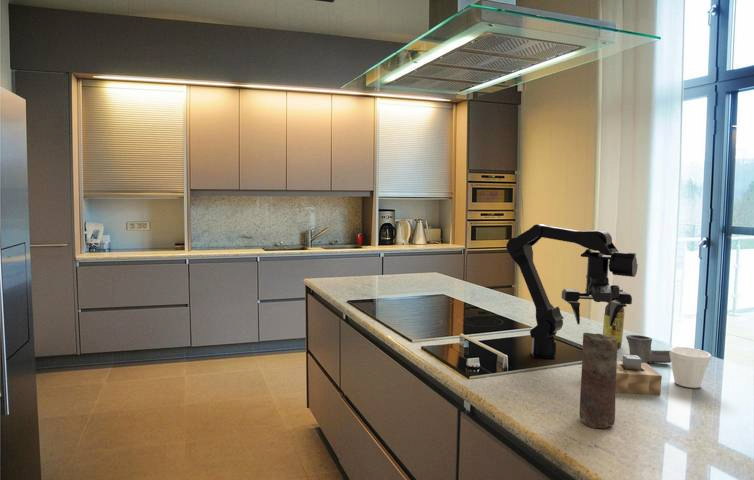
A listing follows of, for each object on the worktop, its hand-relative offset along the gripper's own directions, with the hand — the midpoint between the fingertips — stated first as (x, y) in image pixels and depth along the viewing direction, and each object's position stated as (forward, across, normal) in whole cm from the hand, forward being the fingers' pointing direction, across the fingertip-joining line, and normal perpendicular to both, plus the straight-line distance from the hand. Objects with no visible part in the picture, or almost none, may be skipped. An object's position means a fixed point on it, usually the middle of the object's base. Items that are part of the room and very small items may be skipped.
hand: (594, 325), depth 161 cm
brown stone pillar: (+13, -10, -43) cm, 46 cm away
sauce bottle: (+13, +13, +25) cm, 31 cm away
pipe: (+13, +18, +8) cm, 24 cm away
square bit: (+13, +6, -16) cm, 21 cm away
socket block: (+12, +6, -16) cm, 21 cm away
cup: (+13, +22, -12) cm, 28 cm away
